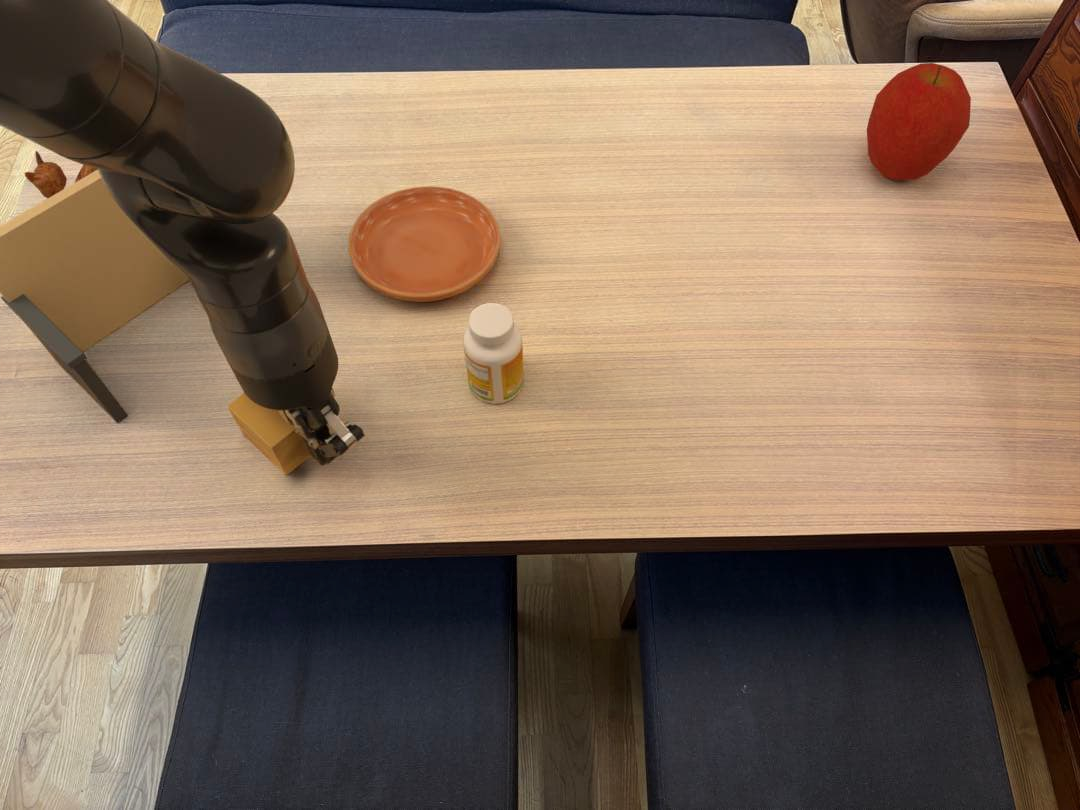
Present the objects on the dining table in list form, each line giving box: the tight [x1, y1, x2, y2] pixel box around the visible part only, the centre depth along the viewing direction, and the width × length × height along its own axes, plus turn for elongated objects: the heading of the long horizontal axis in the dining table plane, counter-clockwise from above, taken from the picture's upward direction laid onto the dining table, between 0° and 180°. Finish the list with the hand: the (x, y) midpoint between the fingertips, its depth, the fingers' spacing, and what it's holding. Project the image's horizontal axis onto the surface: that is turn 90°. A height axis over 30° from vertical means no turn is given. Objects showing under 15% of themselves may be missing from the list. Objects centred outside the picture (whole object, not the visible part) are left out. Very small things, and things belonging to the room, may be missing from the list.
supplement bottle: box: [462, 302, 525, 405], centre depth 79 cm, size 5×5×10 cm
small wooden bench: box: [0, 170, 190, 424], centre depth 80 cm, size 11×21×16 cm, turn 138°
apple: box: [866, 62, 972, 182], centre depth 93 cm, size 10×10×14 cm
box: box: [226, 392, 312, 476], centre depth 78 cm, size 6×6×5 cm
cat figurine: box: [24, 150, 98, 199], centre depth 90 cm, size 18×7×14 cm, turn 179°
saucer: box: [347, 185, 501, 303], centre depth 91 cm, size 16×16×3 cm
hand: (326, 454), depth 76 cm, fingers closed
